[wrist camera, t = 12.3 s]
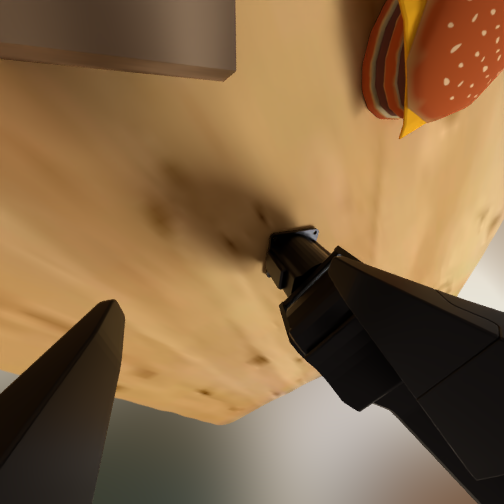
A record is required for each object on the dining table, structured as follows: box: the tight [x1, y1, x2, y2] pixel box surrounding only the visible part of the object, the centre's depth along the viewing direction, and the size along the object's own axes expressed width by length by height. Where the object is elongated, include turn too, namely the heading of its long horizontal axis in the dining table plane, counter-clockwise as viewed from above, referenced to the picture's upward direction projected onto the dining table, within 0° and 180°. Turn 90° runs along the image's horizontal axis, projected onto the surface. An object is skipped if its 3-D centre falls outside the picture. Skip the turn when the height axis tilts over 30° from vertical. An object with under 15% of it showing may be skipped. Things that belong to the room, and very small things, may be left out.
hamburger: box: [362, 0, 504, 139], centre depth 14 cm, size 9×10×7 cm
